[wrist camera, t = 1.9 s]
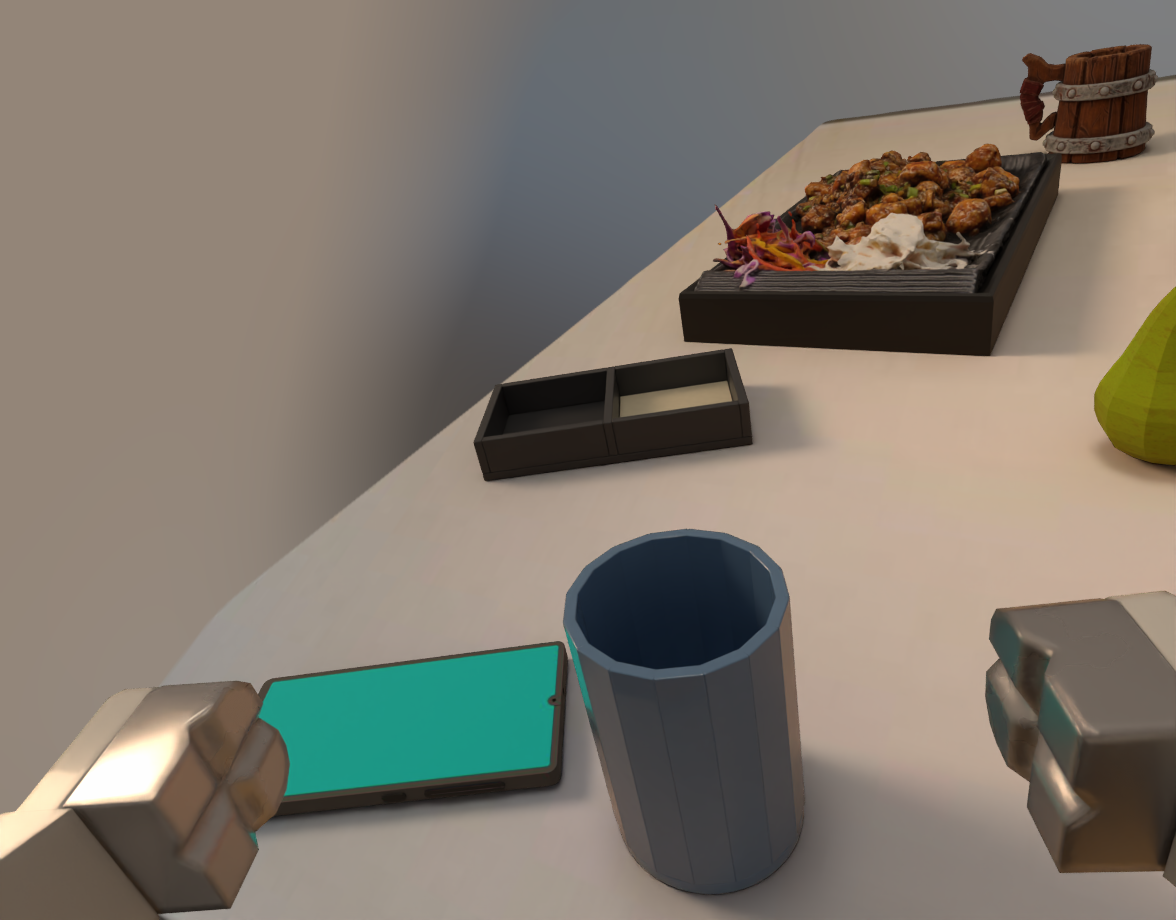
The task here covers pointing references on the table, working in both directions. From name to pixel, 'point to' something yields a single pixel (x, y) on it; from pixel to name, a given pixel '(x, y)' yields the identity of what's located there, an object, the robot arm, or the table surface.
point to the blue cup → (692, 704)
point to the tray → (614, 415)
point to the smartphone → (421, 727)
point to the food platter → (882, 258)
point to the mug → (1092, 103)
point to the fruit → (1144, 390)
